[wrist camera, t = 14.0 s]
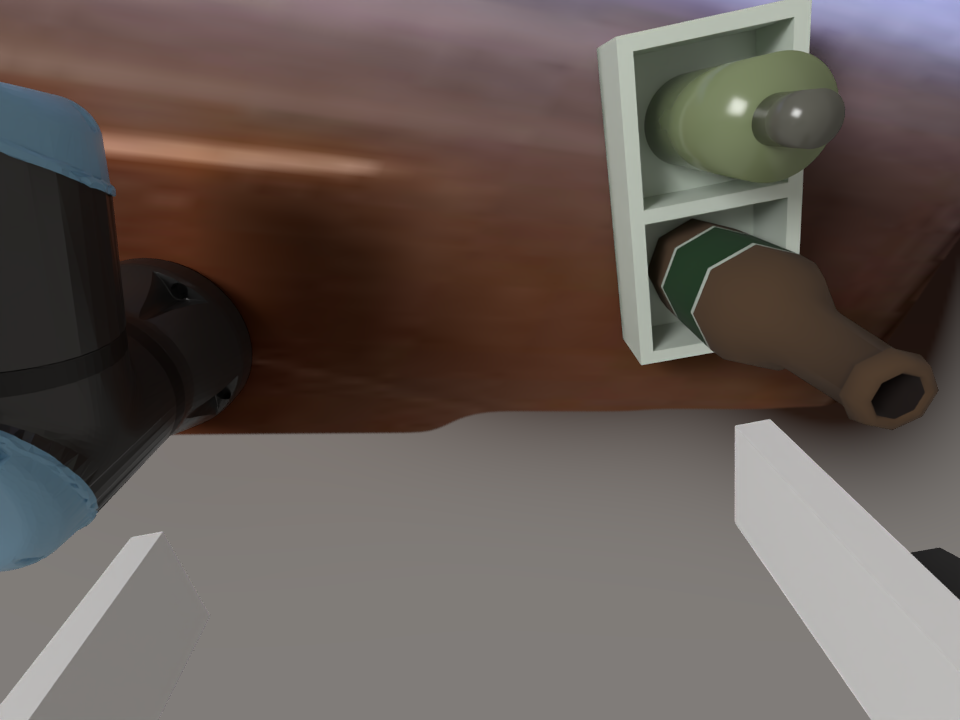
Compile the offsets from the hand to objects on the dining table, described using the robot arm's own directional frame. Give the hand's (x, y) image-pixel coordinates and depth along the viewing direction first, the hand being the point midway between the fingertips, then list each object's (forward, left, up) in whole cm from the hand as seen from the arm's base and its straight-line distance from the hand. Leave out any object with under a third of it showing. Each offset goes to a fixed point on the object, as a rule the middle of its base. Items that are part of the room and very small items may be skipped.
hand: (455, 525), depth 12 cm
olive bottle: (+18, +5, -34) cm, 39 cm away
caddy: (+18, 0, -35) cm, 39 cm away
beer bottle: (+18, -6, -34) cm, 39 cm away
